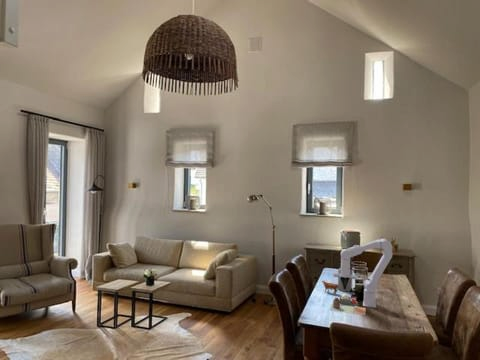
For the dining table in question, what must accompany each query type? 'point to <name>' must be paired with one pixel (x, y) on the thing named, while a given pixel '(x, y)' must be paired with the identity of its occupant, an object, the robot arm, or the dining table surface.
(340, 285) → the water bottle
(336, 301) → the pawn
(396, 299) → the dining table surface
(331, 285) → the bull figurine
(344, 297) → the dome
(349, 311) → the game board
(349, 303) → the grey open box
